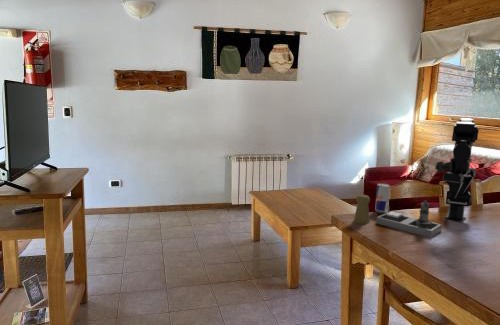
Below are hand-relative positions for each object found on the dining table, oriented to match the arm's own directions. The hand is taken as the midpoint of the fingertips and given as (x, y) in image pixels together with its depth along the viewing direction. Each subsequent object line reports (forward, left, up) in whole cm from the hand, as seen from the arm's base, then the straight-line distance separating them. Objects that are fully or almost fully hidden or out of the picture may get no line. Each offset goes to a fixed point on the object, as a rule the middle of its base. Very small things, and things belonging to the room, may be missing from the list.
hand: (457, 196), depth 157 cm
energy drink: (0, -30, -13) cm, 33 cm away
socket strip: (+12, -13, -13) cm, 22 cm away
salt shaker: (+12, -7, -13) cm, 19 cm away
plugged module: (+12, -19, -13) cm, 26 cm away
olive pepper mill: (+19, -29, -13) cm, 37 cm away
